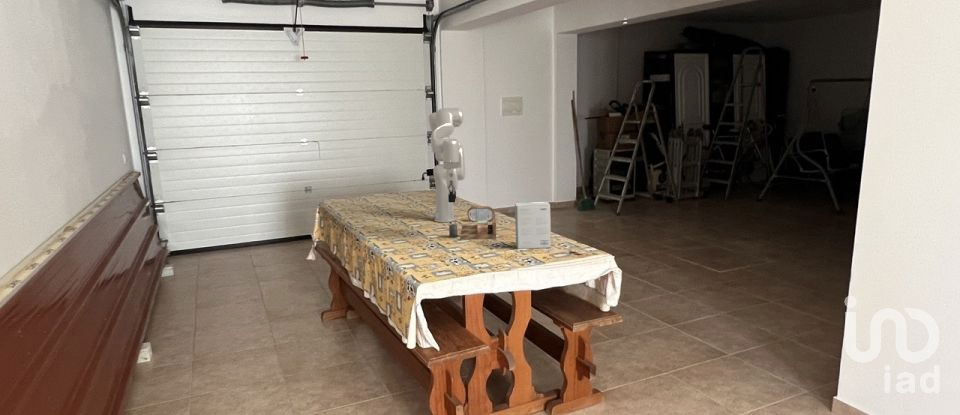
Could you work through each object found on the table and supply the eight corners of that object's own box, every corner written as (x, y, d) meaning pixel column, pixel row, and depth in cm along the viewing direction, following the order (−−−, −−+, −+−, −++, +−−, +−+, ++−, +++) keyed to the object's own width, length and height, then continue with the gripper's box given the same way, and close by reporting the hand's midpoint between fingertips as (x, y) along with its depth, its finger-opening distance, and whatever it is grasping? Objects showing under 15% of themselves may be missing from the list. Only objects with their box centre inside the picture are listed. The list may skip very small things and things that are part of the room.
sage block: (477, 232, 299) (477, 222, 298) (478, 230, 304) (477, 220, 303) (487, 232, 299) (487, 222, 298) (487, 230, 304) (487, 220, 303)
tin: (494, 220, 326) (494, 205, 324) (494, 222, 322) (494, 206, 321) (467, 220, 327) (467, 206, 325) (467, 222, 324) (466, 207, 322)
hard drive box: (548, 243, 273) (548, 201, 269) (551, 248, 265) (551, 204, 261) (515, 244, 272) (514, 202, 268) (516, 249, 265) (516, 205, 261)
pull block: (449, 238, 288) (448, 226, 287) (449, 235, 293) (449, 224, 292) (487, 237, 288) (487, 225, 287) (487, 234, 293) (487, 223, 292)
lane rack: (460, 239, 285) (459, 223, 283) (461, 228, 307) (461, 214, 306) (496, 238, 284) (495, 222, 283) (495, 228, 307) (494, 213, 305)
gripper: (458, 167, 275) (459, 203, 278) (459, 163, 292) (460, 197, 295) (442, 167, 275) (443, 203, 279) (444, 163, 292) (445, 197, 296)
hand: (452, 200), depth 287 cm, fingers open, 9 cm apart
